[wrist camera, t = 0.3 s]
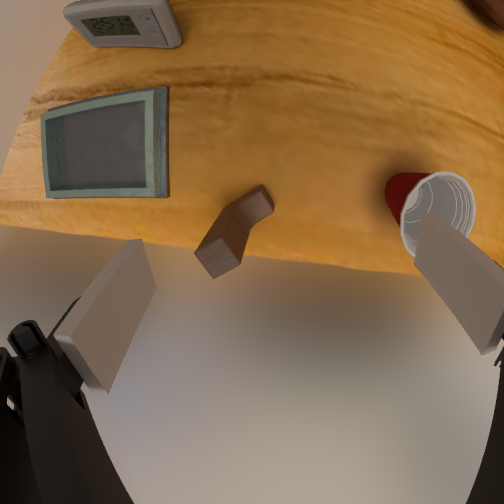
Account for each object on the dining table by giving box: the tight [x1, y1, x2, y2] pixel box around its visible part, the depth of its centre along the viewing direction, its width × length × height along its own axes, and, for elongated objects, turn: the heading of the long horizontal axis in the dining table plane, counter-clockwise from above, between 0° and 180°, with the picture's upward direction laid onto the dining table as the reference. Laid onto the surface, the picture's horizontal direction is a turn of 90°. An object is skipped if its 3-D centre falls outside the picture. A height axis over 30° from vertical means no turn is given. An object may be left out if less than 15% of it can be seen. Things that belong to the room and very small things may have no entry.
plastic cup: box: [385, 172, 476, 258], centre depth 31 cm, size 11×11×12 cm
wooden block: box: [194, 185, 275, 279], centre depth 33 cm, size 7×3×15 cm, turn 123°
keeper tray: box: [41, 86, 170, 199], centre depth 36 cm, size 16×23×4 cm
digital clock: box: [63, 0, 182, 48], centre depth 25 cm, size 16×9×11 cm, turn 63°
